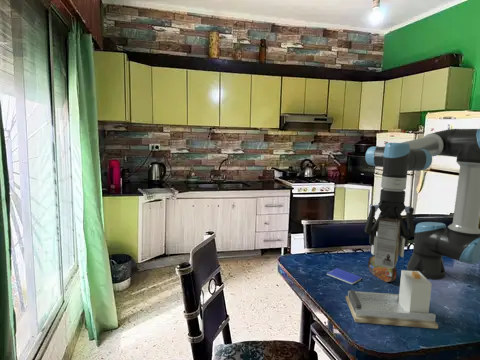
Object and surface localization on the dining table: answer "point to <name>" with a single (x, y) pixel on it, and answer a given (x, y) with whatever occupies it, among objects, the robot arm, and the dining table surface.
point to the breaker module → (414, 292)
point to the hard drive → (344, 276)
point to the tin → (382, 271)
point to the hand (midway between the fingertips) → (386, 254)
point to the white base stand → (384, 307)
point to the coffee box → (387, 242)
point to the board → (391, 322)
